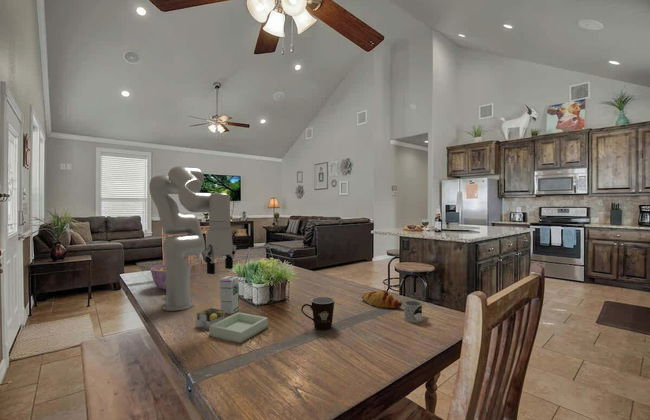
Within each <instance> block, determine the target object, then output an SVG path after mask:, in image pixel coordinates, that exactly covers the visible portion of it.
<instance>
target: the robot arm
mask: <svg viewBox="0 0 650 420" xmlns="http://www.w3.org/2000/svg"><path fill="white" fill-rule="evenodd" d="M204 181H205V176H204V173H203V171H202V170H201V169H199V168H196V167H190V166H189V167H187V166H174V167H172V168H171V169H170V170H169V171H168V173H167V174H166V175H165V174H164V175H162V174H161V175H156V176H153V177H151V179H150V181H149V185H148V186H149V194H150V197H151V199H152V201H153V203H154V204H155V206H156V209H157V213H158V218H159V220H160V221H159V222H160V224H161V225H160V226H161V229H162V231H163V233H164V234H165V235H171V236H169V237H167V238H166V239H165V240H164V241H163V245H162V249H163V254H164V260H165V265H166V290H165V293H166V294H165V296H163V297H162V298H161V300H162V301H165V303H164V304H163V305H162V309H163V310H164V311H166V312H167V311H168V312H174V311H175V312H177V311H178V312H179V311H184V310H187V309H190V308H192V307H193V306H194V305H195V304H194V303H195V302H194V301H193V300H191V284H190V283H191V279H190V278H191V277H190V275H191V270H190V268H189V265H190V264H189V263H188V261H187V260H186V259H185V258H186V257H189V256H190V257H191V256H196V255H202V258H203V260H204V261H205V263H206V274H209V275H216V274H215V273H216V265H215V264H216V263H214V262H215V261H216V258H221V257H224V256H225V259H224V261H225V263H224V265H225V267H224V268H225V269H229V270H233V267H234V263H233V261H234V260H233V259H234V258H235V254H236V250H237V245H235V244H233V234H232V230H231V196H230V195H229V194H228V193H225V192H224V193H222V192H201V190H202V185H203V183H204ZM170 195H178V196H177V197H178V200H179V202H180V203H179V204H180V205H181V206H182V207H183V208H184V209H186V210H187V211H188V213H187V212H186V213H182V212H180V210H179V209H180V208H179V205H178V204H177V202H176V201H175V200H174V199H173V198H172V197H171V196H170ZM194 213H208V220H209V221H208V222H209V223H208V228H209V229H208V230H207V233H206V239H205V238H204V235H203V231H202V227H201V223H200V221H199V219H198V217H197V215H196V214H194Z"/></svg>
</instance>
